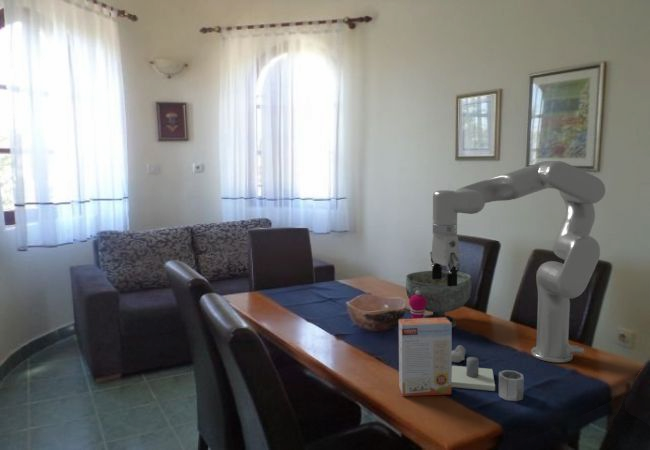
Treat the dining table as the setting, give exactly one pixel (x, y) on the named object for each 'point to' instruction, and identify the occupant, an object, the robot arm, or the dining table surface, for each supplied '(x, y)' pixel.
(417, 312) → the pepper mill
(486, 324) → the dining table surface
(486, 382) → the square plate with knob
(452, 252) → the robot arm
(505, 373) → the sleeve
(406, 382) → the cracker box
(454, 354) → the pale two-lobed sculpture
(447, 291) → the decorative bowl
